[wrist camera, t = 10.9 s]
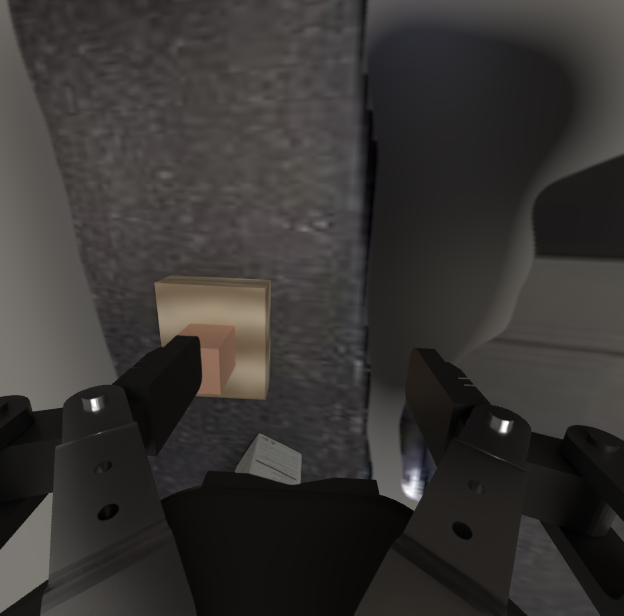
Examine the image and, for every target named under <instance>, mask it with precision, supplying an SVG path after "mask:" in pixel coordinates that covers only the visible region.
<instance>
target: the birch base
mask: <svg viewBox="0 0 624 616" xmlns="http://www.w3.org/2000/svg"><path fill="white" fill-rule="evenodd" d="M155 292H156V301H157V310H158V319H159V328H160V337H161V346H162V347H164V346H165V345H166V344H167V343H168V342H169V341H171V340H172V339H173V338H174V337H175V336H176V335H178V334H179V333H180V332H182V331H183V330H184V329H185V328H186V327H187V326H188V325H189V324H190V323H192V324H210V325H228V326H235V358H236V366H235V368H234V370H233V372H232V374H231V376H230V378H229V379H228V381H227V383H226V385H225V387H224V389H223V391H222V393H221V395H215V394H198V393H197V394H196V396H203V397H223V398H242V399H262V400H265V399H266V395H267V391H268V388H269V384H270V299H271V280H260V279H240V278H220V277H200V276H180V275H170V276H168V277H166V278H164V279H161V280H159V281H157V282H155Z"/></svg>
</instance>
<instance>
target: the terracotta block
mask: <svg viewBox="0 0 624 616" xmlns="http://www.w3.org/2000/svg"><path fill="white" fill-rule="evenodd" d="M178 335H184V336H198V337H199V340H200V347H201V361H202V383H201V386H200V389H199V391H198V394H215V395H221V393H222V391H223V389H224V387H225V385H226V383H227V381H228V379H229V378H230V376H231V374H232V372H233V370H234V368H235V366H236V358H235V326H228V325H210V324H192V323H190V324H189V325H188V326H187V327H186V328H185V329H184V330H183V331H182V332H180V333H179V334H178Z"/></svg>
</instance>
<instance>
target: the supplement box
mask: <svg viewBox="0 0 624 616" xmlns="http://www.w3.org/2000/svg"><path fill="white" fill-rule="evenodd" d="M301 460H302V454H300V453H299V452H297V451H295V450H293V449H291V448H289V447H287V446H285V445H283V444H281V443H279V442H277V441H275V440H273V439H271V438H269V437H267V436H265V435H263V434H260V433H259V434H258V435H257V436H256V438H255V439H254V441H253V442H252V444H251V445H250V447H249V448H248V450H247V451H246V453H245V454H244V456H243V457H242V459H241V461H240V462H239V464H238V465H237V467H236V471H235V473H250V474H253V475H257V476H260V477H264V478H267V479H271V480H274V481H278V482H281V483H285V484H289V485H295V484H300V479H301Z"/></svg>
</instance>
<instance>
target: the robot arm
mask: <svg viewBox="0 0 624 616" xmlns="http://www.w3.org/2000/svg"><path fill="white" fill-rule="evenodd" d="M201 383H202V361H201V347H200V340H199V337H198V336H184V335H176V336H175V337H174V338H173V339H172V340H171V341H169V342H168V343H167V344H166V345H165V346H164V347H160V348H158V349H156V350H154V351H151V352H149V353H148V354H146V355H145V356H144V357H143V358H142V359H141V360H140V361H139V362H137V363H136V364H135V365H134V366H133V367H132V368H130V369H129V370H128V371H127V372H126V373H124V374H123V375H122V376H121V377H120V378H119V379H118V380H116V381H115V382H114V383H113V384H112V385H101V386H95V387H92V388H88V389H85V390H83V391H80V392H78V393H76V394H74V395H73V396H71V397H70V398H69V399H67V401H66V402H65V403H64V405H63V408H57V409H49V410H42V411H34V412H33V411H32V408H31V404H30V401H29V399H28V398H27V397H25V396H20V395H11V396H3V397H0V549H1V548H2V547H3V546H4V545H5V544H6V542H7V541H8V540H9V539H10V538H11V537H12V535H13V534H14V533H15V532H16V531H17V530H18V528H19V527H20V526H21V525H22V524H23V523H24V521H25V520H26V519H27V518H28V517H29V516H30V515H31V513H32V512H33V511H34V510H35V509H36V508H37V507H38V505H39V504H40V503H41V502H42V501H43V500H44V498H45V497H46V496H47V495H48V493H52V492H53V503H52V524H51V543H50V563H49V579H48V580H46V581H45V582H44V583H42V584H41V585H39V586H38V587H37V588H35V589H34V590H32V591H31V592H30V593H28V594H27V595H25V596H24V597H23V598H21V599H20V600H19V601H17V602H16V603H14V604H13V605H11V606H10V607H9V608H7V609H6V610H4V611H3V612H2V613H0V616H527V615H526V614H525V613H524V612H523V611H522V610H521V609H520V608H519V607H518V606H517V605H516V604H515V603H514V602H513V601H511V600H510V599H509V592H510V585H511V579H512V573H513V566H514V560H515V553H516V547H517V541H518V534H519V528H520V522H521V515H522V514H523V515H526V516H529V517H532V518H535V519H538V520H540V522H541V524H542V525H543V527H544V528H545V530H546V532H547V533H548V535H549V536H550V538H551V539H552V541H553V542H554V544H555V545H556V547H557V549H558V550H559V552H560V553H561V555H562V556H563V558H564V559H565V561H566V563H567V564H568V566H569V567H570V569H571V570H572V572H573V573H574V575H575V577H576V578H577V580H578V581H579V583H580V584H581V586H582V587H583V589H584V591H585V592H586V594H587V595H588V597H589V598H590V600H591V601H592V603H593V605H594V606H595V608H596V609H597V611H598V612H599V614H600V615H601V616H624V542H623V541H622V539H621V538H620V537H619V536H618V535H617V533H616V532H615V531H614V530H613V529H612V528H611V525H612V523H613V521H614V519H615V516H616V514H617V515H618V516H619V517H620V518H621V519H622V520H623V521H624V441H623V440H621V439H619V438H618V437H616V436H614V435H612V434H610V433H607V432H605V431H602V430H599V429H596V428H593V427H589V426H583V425H573V426H570V427H568V428H567V430H566V433H565V436H564V439H559V438H555V437H550V436H546V435H542V434H538V433H534V432H531V427H530V425H529V423H528V422H527V421H526V420H525V419H524V418H523V417H521V416H520V415H518V414H517V413H515V412H513V411H511V410H509V409H506V408H503V407H500V406H496V405H491V404H490V403H489V401H488V400H487V399H486V398H485V397H484V396H483V395H482V393H481V392H480V391H479V390H478V389H477V388H476V387H475V386H474V384H473V383H472V382H471V381H470V380H469V379H468V377H467V376H466V375H465V374H464V373H463V372H462V370H461V369H459V368H457V367H456V366H454V365H452V364H451V363H449V362H445V361H444V360H443V359H442V357H441V356H440V355H439V354H438V352H437V351H436V350H435V349H430V348H413V349H412V351H411V355H410V361H409V367H408V373H407V379H406V386H405V393H406V400H407V403H408V405H409V407H410V409H411V411H412V413H413V416H414V418H415V420H416V422H417V424H418V427H419V429H420V431H421V433H422V435H423V438H424V440H425V442H426V444H427V446H428V448H429V451H430V453H431V455H432V457H433V459H434V462H435V464H436V466H437V469H436V471H435V473H434V475H433V477H432V478H431V480H430V482H429V484H428V486H427V488H426V490H425V492H424V494H423V496H422V498H421V499H420V501H419V503H418V505H417V507H416V509H415V511H413V510H412V509H410V508H409V507H407V506H405V505H404V504H402V503H400V502H398V501H396V500H393V499H391V498H388V497H386V496H382V495H379V490H378V485H377V481H376V480H370V479H350V478H330V479H324V480H319V481H313V482H307V483H301V484H295V485H289V484H285V483H281V482H278V481H274V480H271V479H267V478H264V477H260V476H257V475H253V474H250V473H235V472H215V471H208V472H207V474H206V476H205V479H204V481H203V484H202V485H201V486H196V487H192V488H189V489H185V490H182V491H180V492H177V493H175V494H172V495H170V496H168V497H166V498H164V499H162V500H161V501H160V498H159V494H158V491H157V488H156V484H155V481H154V478H153V474H152V471H151V468H150V464H149V461H148V458H147V455H150V456H157V455H158V453H159V452H160V450H161V448H162V447H163V445H164V444H165V442H166V441H167V439H168V438H169V436H170V434H171V433H172V431H173V430H174V428H175V427H176V425H177V424H178V422H179V421H180V419H181V417H182V416H183V414H184V413H185V411H186V410H187V408H188V407H189V405H190V403H191V402H192V400H193V399H194V397H195V396H196V394H197V393H198V391H199V389H200V386H201Z"/></svg>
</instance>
